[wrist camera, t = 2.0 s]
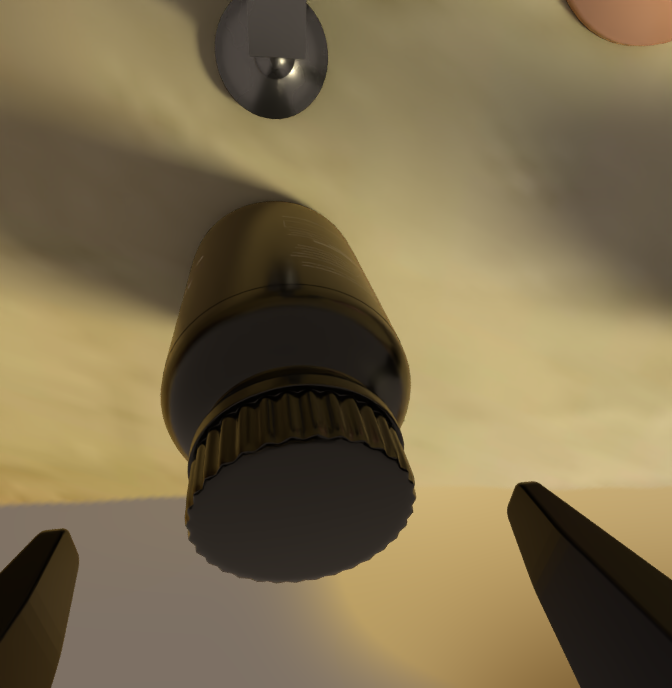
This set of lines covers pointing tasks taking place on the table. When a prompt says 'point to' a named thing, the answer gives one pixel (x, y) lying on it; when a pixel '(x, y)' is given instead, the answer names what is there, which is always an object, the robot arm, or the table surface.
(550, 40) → the table surface
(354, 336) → the supplement bottle
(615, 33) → the peach domed disc
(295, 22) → the jointed grey bar linkage
